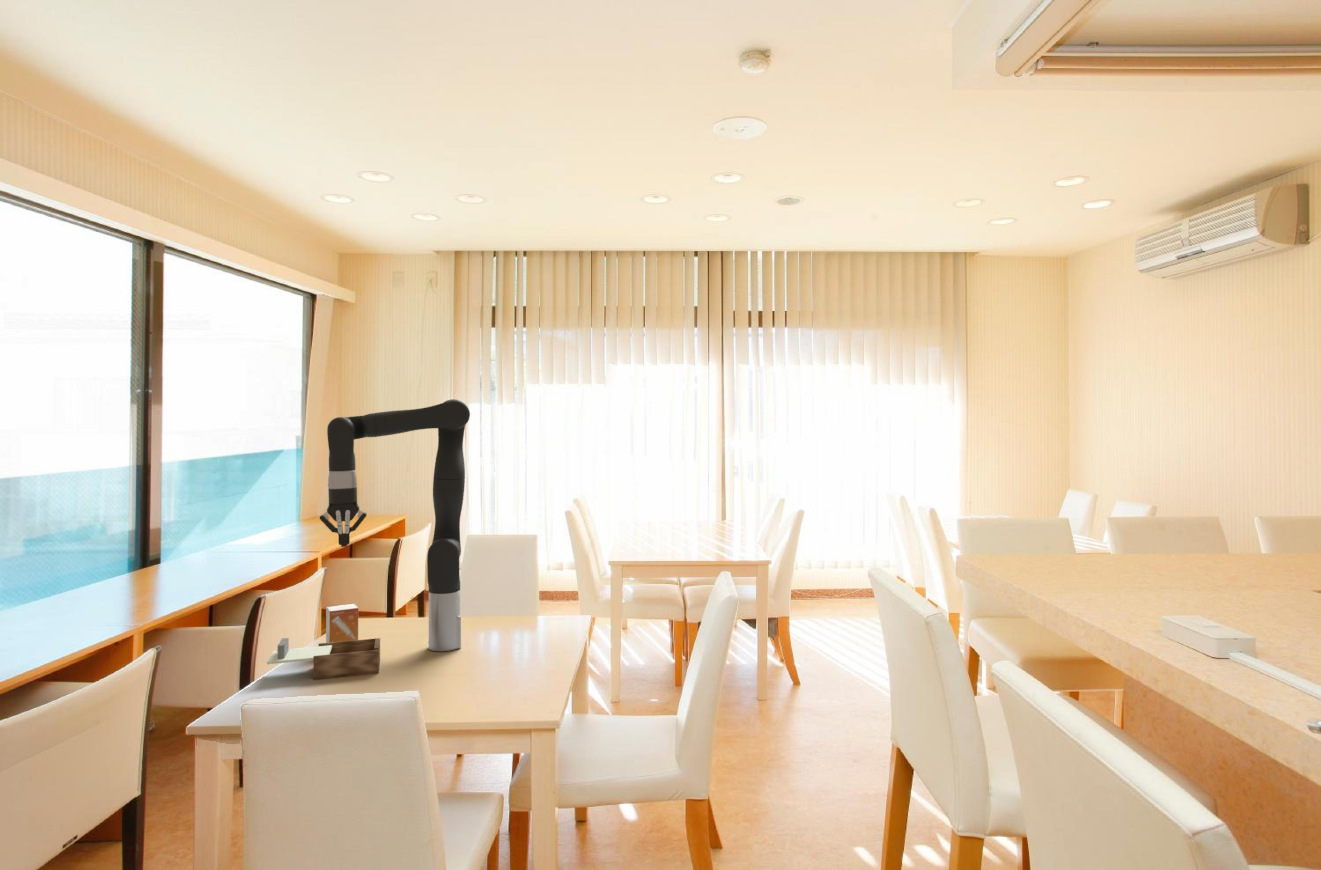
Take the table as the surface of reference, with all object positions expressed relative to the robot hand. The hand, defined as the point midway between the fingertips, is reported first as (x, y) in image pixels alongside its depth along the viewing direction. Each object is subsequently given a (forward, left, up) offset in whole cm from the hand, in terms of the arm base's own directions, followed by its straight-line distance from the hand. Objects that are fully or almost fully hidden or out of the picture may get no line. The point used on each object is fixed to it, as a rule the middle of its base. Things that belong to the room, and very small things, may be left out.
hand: (344, 546), depth 206 cm
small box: (+1, -8, -33) cm, 34 cm away
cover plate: (+10, +11, -27) cm, 31 cm away
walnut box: (-2, +11, -32) cm, 34 cm away
